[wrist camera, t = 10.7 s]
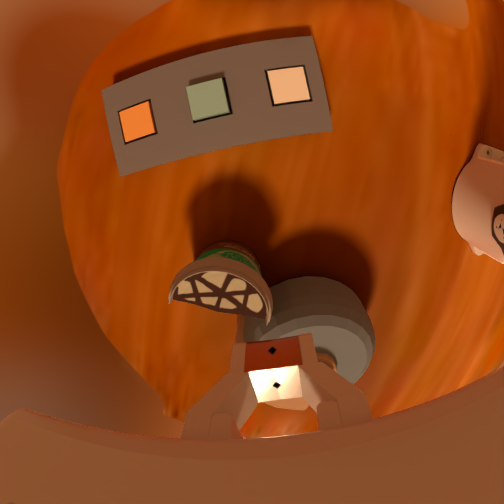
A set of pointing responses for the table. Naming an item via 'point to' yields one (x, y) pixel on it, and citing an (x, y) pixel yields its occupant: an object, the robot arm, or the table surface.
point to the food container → (225, 282)
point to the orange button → (138, 122)
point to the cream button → (288, 85)
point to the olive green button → (208, 99)
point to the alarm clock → (316, 326)
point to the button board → (239, 98)
